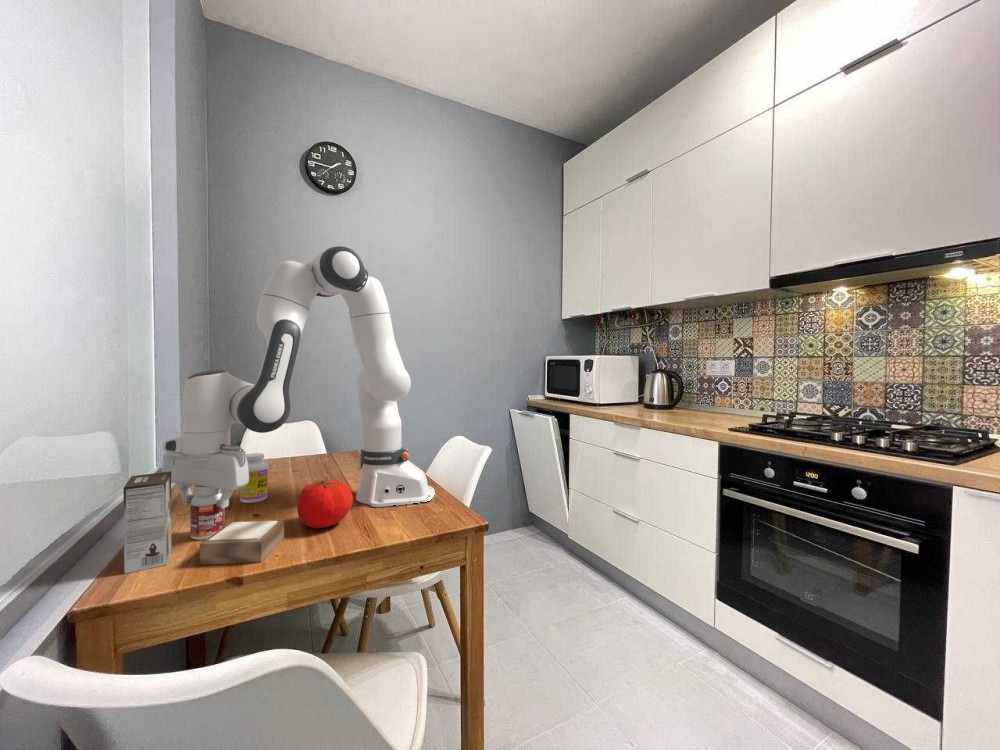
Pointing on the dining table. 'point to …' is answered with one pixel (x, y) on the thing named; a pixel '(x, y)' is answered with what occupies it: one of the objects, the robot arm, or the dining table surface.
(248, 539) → the base
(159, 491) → the coffee box
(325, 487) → the tomato
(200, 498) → the pill bottle
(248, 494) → the supplement bottle
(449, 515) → the dining table surface
